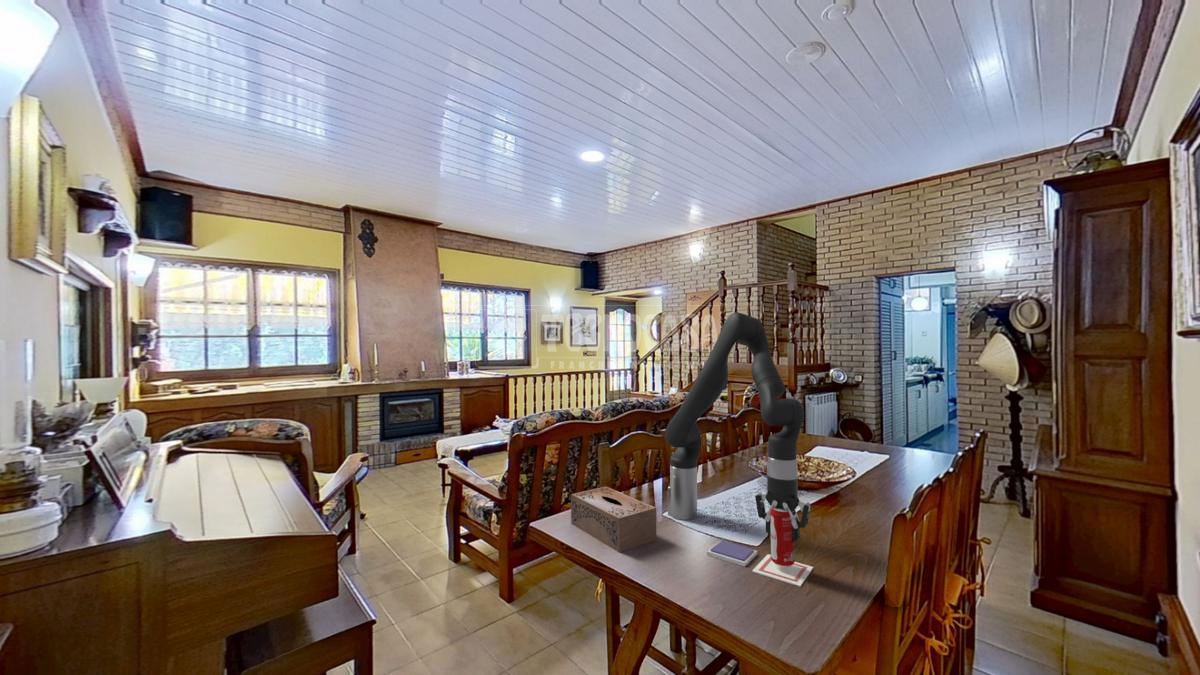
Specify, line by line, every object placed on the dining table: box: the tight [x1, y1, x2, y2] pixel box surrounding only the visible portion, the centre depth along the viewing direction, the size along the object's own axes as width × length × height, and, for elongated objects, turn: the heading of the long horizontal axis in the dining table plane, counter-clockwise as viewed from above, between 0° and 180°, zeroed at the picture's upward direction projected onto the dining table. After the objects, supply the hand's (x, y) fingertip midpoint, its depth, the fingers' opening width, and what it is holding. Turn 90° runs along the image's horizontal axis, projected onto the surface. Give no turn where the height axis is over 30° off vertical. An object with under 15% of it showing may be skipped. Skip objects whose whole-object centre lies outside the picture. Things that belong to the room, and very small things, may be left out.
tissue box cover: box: [570, 486, 657, 553], centre depth 148 cm, size 26×14×10 cm, turn 36°
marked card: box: [751, 553, 814, 588], centre depth 123 cm, size 12×12×1 cm
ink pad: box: [706, 540, 758, 567], centre depth 131 cm, size 11×9×2 cm
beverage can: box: [770, 508, 795, 567], centre depth 123 cm, size 6×6×15 cm
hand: (782, 537), depth 123 cm, fingers open, 5 cm apart
